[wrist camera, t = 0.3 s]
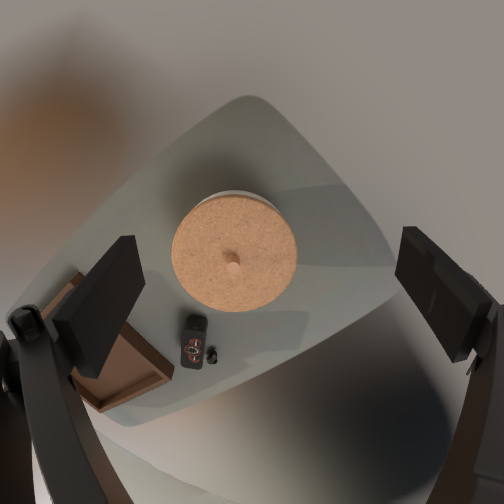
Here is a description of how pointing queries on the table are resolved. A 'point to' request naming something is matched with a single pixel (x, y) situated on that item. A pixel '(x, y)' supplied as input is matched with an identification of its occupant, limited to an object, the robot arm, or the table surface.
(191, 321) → the wireless earbuds
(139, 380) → the tray
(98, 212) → the table surface
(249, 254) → the trinket box
